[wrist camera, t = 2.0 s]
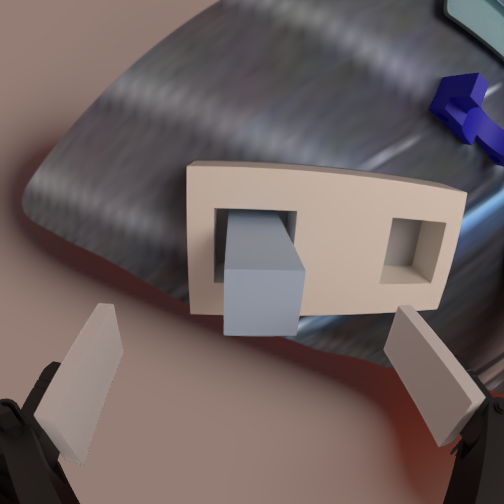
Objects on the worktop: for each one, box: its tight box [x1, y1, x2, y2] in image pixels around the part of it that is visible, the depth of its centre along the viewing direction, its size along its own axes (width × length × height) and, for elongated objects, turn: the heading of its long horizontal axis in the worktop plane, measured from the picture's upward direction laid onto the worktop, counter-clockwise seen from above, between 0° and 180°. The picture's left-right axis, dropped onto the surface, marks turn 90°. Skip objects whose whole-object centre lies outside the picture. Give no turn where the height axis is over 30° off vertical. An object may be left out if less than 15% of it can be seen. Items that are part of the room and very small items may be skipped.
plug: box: [224, 209, 306, 336], centre depth 21 cm, size 4×5×12 cm
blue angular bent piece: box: [429, 73, 504, 167], centre depth 22 cm, size 12×4×6 cm, turn 62°
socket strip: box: [187, 160, 467, 316], centre depth 26 cm, size 24×12×5 cm, turn 87°
